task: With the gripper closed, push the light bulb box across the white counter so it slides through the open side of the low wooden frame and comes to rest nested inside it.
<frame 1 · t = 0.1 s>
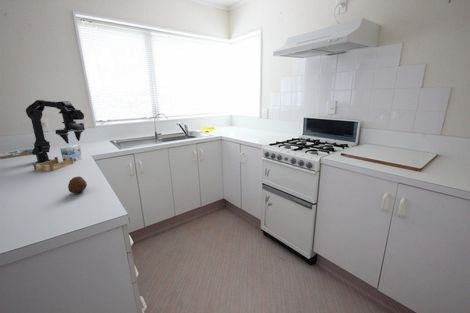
hand: (73, 142, 158), 15 cm above the counter, fingers open, 9 cm apart
potato: (79, 193, 108), on the counter
wooden frame: (55, 166, 151), on the counter
light bulb box: (73, 161, 165), on the counter
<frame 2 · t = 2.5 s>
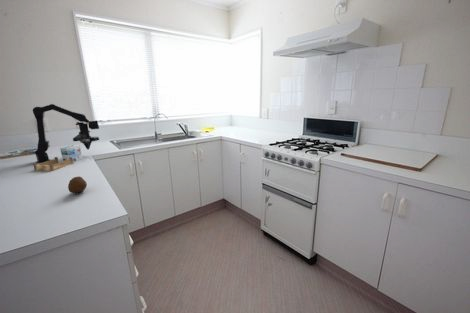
hand: (88, 149, 179), 5 cm above the counter, fingers closed
nothing on the counter moved.
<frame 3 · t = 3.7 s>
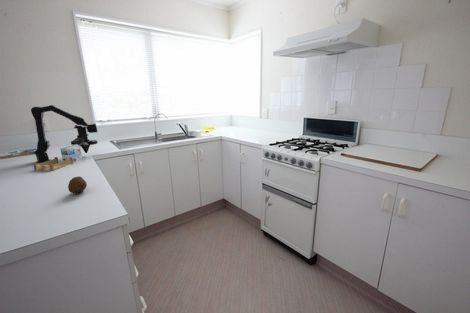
hand: (86, 152, 178), 2 cm above the counter, fingers closed
nothing on the counter moved.
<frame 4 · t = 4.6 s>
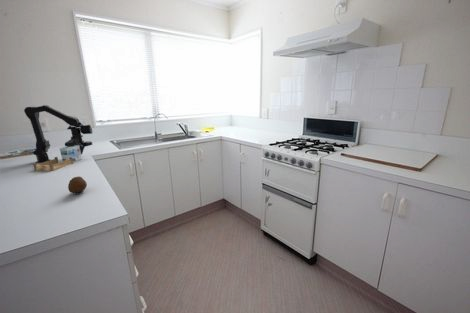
hand: (81, 154, 172), 3 cm above the counter, fingers closed
light bulb box: (72, 161, 165), on the counter, touching gripper
everything else where it was.
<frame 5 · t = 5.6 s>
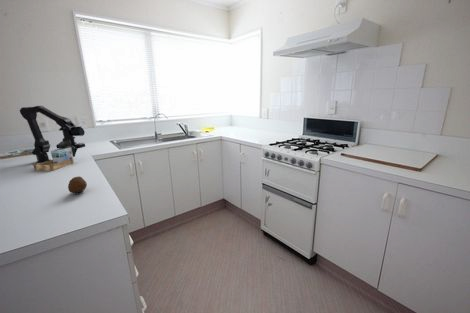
hand: (73, 156, 165), 3 cm above the counter, fingers closed, pressing on light bulb box
light bulb box: (64, 163, 158), on the counter, touching gripper
everything else where it was.
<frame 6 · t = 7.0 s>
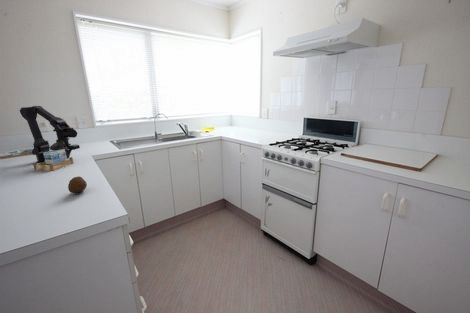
hand: (67, 158, 160), 3 cm above the counter, fingers closed
light bulb box: (58, 166, 153), on the counter, touching gripper
everything else where it was.
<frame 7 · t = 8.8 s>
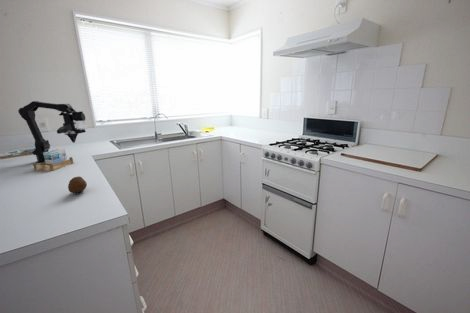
hand: (73, 142, 166), 13 cm above the counter, fingers closed
light bulb box: (58, 166, 153), on the counter
everything else where it was.
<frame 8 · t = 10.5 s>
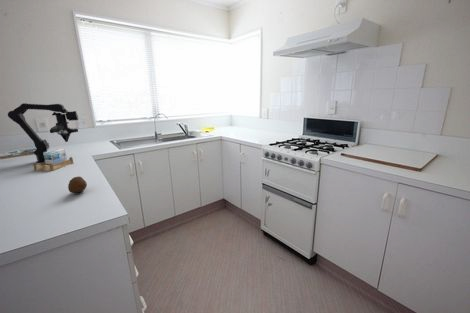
hand: (66, 141, 169), 13 cm above the counter, fingers closed
nothing on the counter moved.
at the end: light bulb box inside the target area on the wooden frame (0.8 cm from its centre), point 0.0 cm above the wooden frame's base; light bulb box tilted 0°; light bulb box moved 12.7 cm from its start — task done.
